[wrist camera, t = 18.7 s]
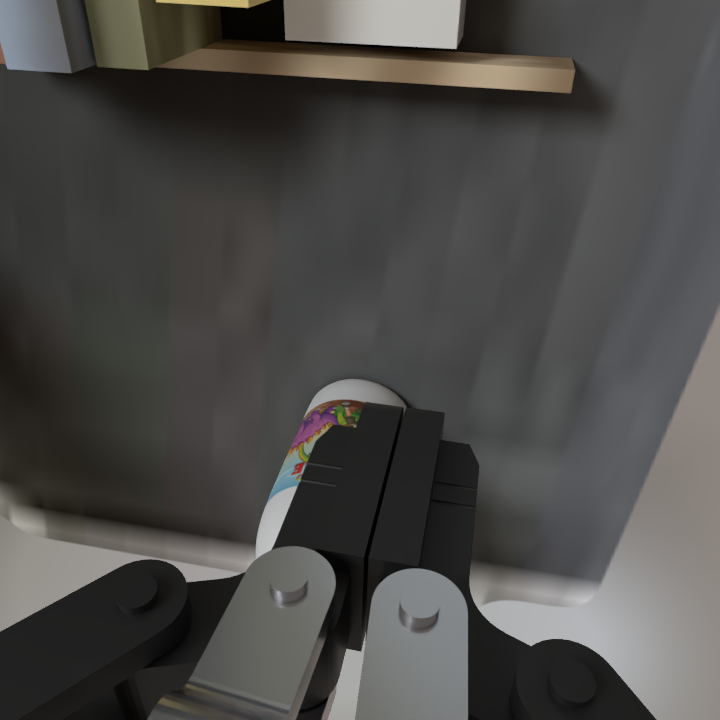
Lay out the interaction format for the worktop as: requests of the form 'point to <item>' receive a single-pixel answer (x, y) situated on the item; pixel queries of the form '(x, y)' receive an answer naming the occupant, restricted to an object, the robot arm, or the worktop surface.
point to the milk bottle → (325, 410)
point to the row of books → (237, 48)
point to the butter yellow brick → (218, 2)
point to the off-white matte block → (377, 22)
